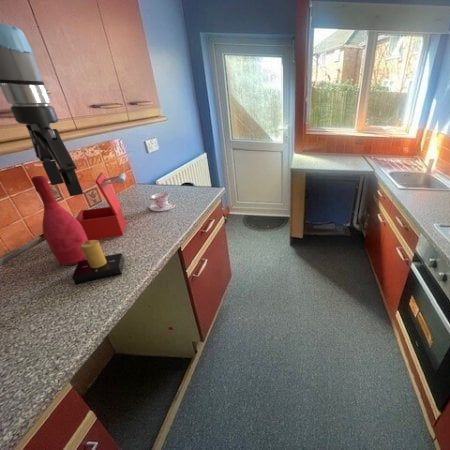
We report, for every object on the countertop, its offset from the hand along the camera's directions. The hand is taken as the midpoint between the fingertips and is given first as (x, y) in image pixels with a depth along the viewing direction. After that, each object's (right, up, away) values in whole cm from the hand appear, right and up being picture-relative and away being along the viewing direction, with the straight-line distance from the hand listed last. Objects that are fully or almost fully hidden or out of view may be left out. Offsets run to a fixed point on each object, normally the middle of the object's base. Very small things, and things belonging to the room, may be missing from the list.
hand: (67, 189), depth 70 cm
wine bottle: (-14, -22, +19) cm, 32 cm away
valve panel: (-1, -26, +13) cm, 29 cm away
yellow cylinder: (-1, -23, +12) cm, 26 cm away
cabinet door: (-12, +2, +30) cm, 32 cm away
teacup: (-6, -1, +59) cm, 59 cm away
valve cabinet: (-17, -13, +35) cm, 41 cm away
